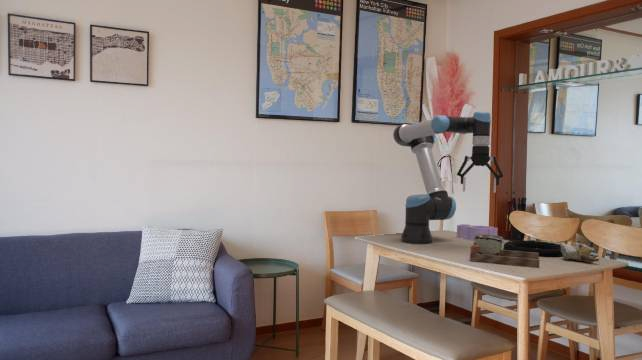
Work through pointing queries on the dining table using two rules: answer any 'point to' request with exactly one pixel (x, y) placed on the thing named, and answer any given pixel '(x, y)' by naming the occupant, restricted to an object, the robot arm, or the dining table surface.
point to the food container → (489, 244)
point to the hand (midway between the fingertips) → (479, 192)
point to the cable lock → (531, 246)
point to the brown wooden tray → (506, 257)
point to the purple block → (474, 231)
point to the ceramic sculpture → (577, 252)
